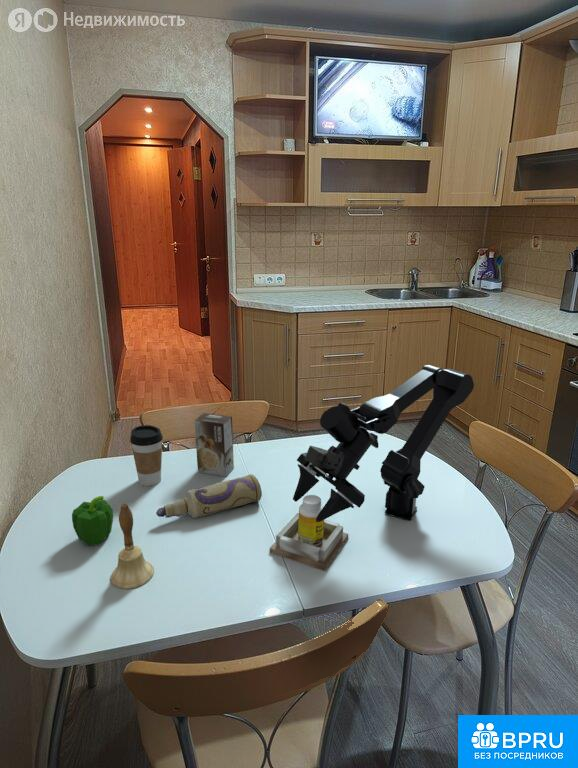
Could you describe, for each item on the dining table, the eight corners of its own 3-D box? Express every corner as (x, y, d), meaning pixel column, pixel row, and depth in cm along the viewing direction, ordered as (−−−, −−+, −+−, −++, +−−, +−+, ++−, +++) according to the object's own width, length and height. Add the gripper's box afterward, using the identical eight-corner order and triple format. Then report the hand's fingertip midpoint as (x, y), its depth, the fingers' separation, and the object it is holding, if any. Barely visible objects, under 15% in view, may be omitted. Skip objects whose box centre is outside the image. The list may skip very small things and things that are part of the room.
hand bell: (108, 592, 95) (100, 519, 90) (112, 564, 102) (105, 496, 97) (153, 585, 97) (147, 514, 92) (154, 559, 104) (148, 491, 99)
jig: (348, 537, 112) (348, 524, 111) (325, 570, 101) (325, 556, 100) (296, 522, 118) (297, 509, 117) (269, 551, 107) (269, 538, 106)
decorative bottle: (250, 491, 132) (250, 469, 129) (262, 505, 125) (262, 481, 123) (152, 516, 120) (151, 491, 118) (161, 532, 113) (159, 507, 111)
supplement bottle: (316, 550, 106) (318, 508, 103) (293, 543, 108) (294, 502, 105) (327, 537, 110) (328, 496, 107) (304, 530, 113) (305, 490, 110)
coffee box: (235, 467, 144) (233, 415, 140) (226, 477, 139) (224, 424, 134) (206, 462, 147) (204, 412, 142) (196, 472, 141) (193, 420, 136)
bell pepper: (72, 552, 106) (67, 511, 103) (77, 531, 113) (72, 492, 110) (114, 546, 108) (109, 506, 105) (116, 525, 116) (112, 487, 113)
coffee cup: (153, 470, 142) (149, 421, 137) (172, 479, 137) (168, 429, 132) (127, 481, 136) (122, 430, 131) (146, 491, 131) (141, 439, 126)
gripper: (304, 419, 111) (261, 474, 109) (356, 449, 96) (307, 515, 94) (331, 443, 118) (291, 497, 115) (384, 476, 102) (339, 538, 100)
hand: (305, 510), depth 106 cm, fingers open, 9 cm apart
